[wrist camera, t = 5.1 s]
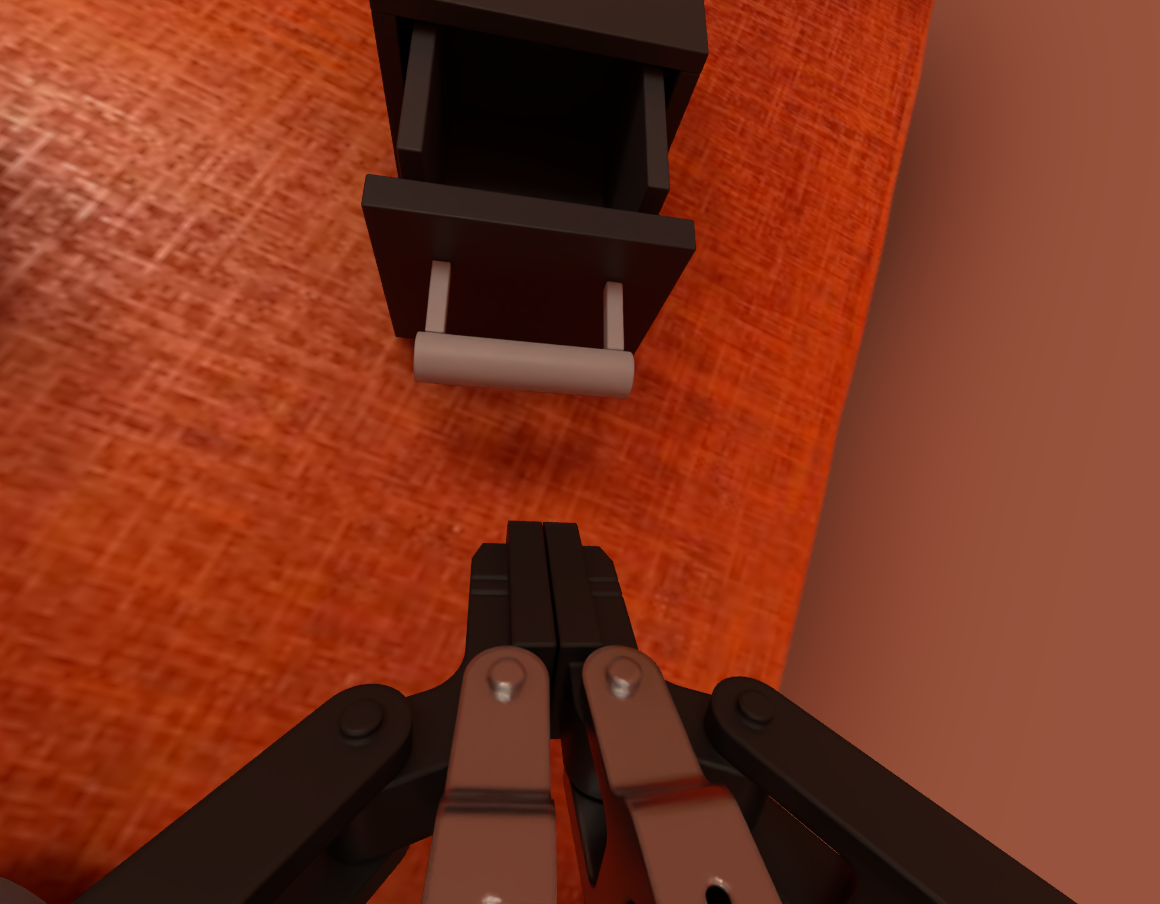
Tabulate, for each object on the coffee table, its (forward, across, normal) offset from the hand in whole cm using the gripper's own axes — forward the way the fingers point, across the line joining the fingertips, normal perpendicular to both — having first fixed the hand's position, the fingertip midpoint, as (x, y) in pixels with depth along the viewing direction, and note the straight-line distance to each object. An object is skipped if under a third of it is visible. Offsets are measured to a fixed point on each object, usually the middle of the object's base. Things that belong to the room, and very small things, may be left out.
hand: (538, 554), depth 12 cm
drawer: (+17, 0, +3) cm, 17 cm away
